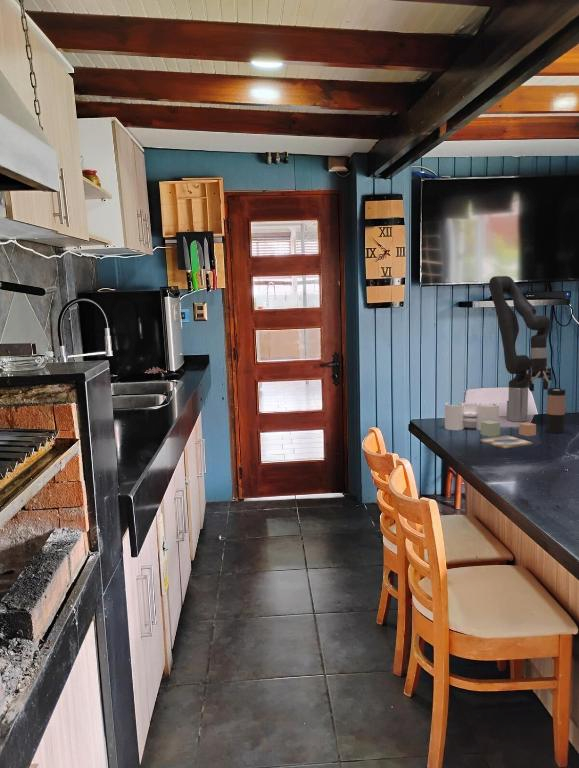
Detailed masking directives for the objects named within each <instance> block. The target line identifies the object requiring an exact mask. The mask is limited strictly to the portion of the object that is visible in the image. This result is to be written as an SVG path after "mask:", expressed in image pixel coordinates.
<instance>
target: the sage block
mask: <svg viewBox="0 0 579 768" xmlns="http://www.w3.org/2000/svg"><path fill="white" fill-rule="evenodd" d="M480 435H481V436H485V437H487V438H492V437H499V436H501V422H500V421H499V422H496V421H492V420H490V421H482V422H481V430H480Z"/></svg>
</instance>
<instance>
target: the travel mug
mask: <svg viewBox="0 0 579 768" xmlns="http://www.w3.org/2000/svg"><path fill="white" fill-rule="evenodd" d="M546 395H547V396H546V432H547V433H549V434H557V435H558V434H564V431H565V417H566V414H565V413H566V389H565V388H564V389H562V388H560V387H550V388H549V387H548V389H547V391H546Z"/></svg>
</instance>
